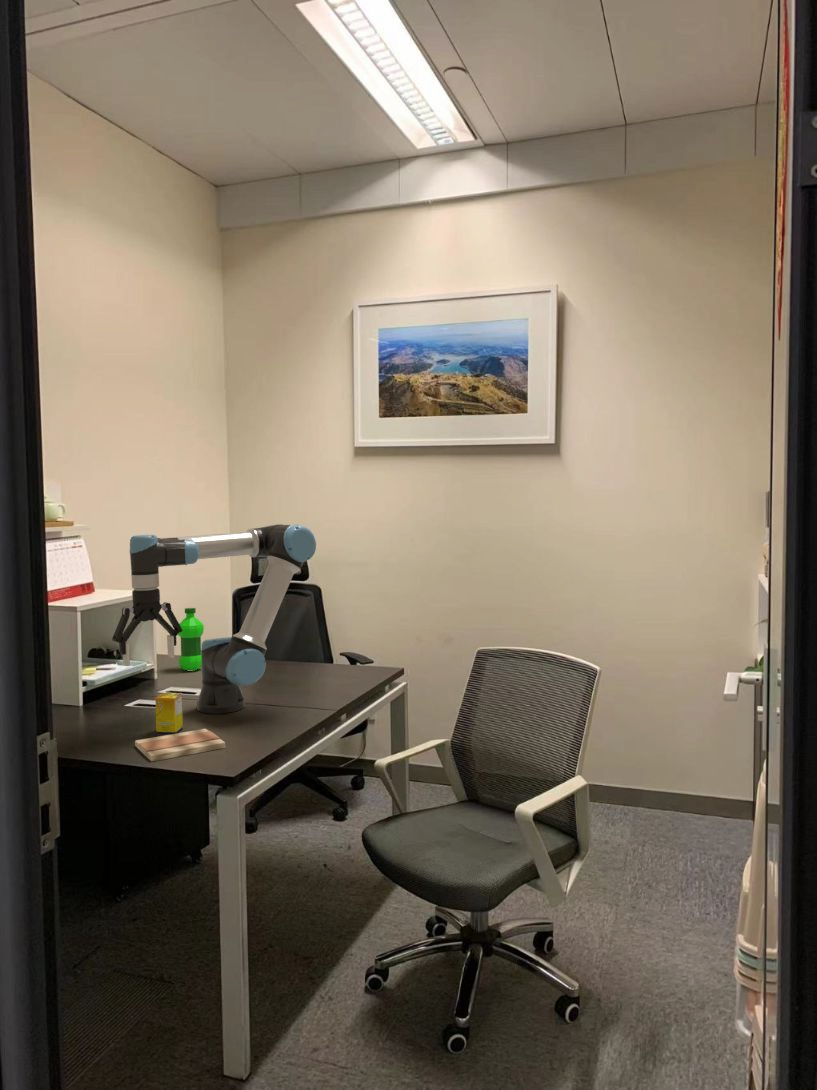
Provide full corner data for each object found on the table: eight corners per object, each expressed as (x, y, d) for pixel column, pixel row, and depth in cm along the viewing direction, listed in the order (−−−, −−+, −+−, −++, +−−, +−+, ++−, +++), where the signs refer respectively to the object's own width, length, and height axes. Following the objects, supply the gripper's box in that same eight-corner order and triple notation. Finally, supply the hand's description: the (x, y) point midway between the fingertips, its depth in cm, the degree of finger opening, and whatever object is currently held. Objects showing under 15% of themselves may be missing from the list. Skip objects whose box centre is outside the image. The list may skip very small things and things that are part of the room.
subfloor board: (205, 733, 228) (205, 727, 228) (225, 747, 215) (225, 741, 215) (135, 745, 217) (135, 739, 217) (151, 761, 204) (151, 754, 204)
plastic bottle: (199, 673, 309) (197, 610, 308) (173, 672, 311) (172, 610, 309) (208, 667, 319) (207, 607, 318) (184, 667, 321) (182, 606, 319)
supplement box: (163, 728, 234) (163, 692, 233) (183, 729, 233) (182, 692, 232) (155, 734, 228) (154, 697, 227) (175, 735, 227) (174, 697, 226)
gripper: (179, 583, 237) (182, 652, 238) (97, 592, 220) (101, 666, 221) (191, 585, 231) (195, 655, 233) (108, 594, 214) (112, 670, 216)
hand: (149, 661), depth 227 cm, fingers open, 13 cm apart
